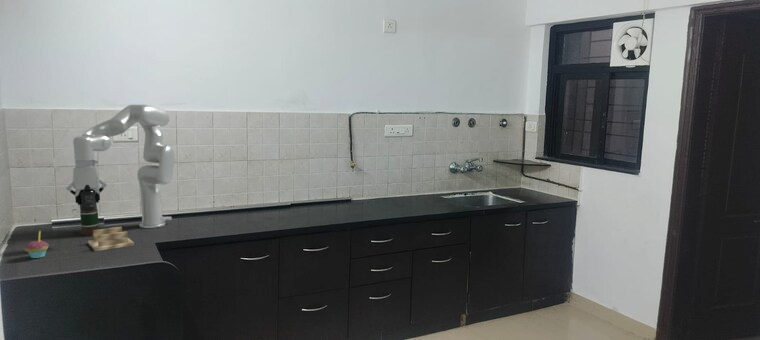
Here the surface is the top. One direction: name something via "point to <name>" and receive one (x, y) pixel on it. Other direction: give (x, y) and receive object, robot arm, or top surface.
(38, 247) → the cupcake
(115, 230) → the holder
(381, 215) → the top surface
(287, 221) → the top surface
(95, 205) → the supplement bottle
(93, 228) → the beer bottle
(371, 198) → the top surface
